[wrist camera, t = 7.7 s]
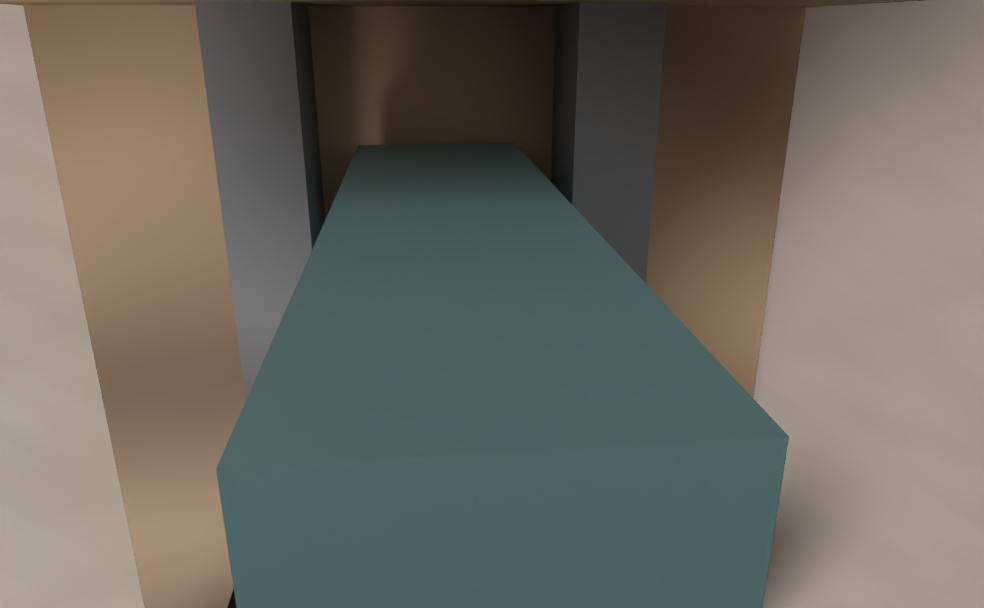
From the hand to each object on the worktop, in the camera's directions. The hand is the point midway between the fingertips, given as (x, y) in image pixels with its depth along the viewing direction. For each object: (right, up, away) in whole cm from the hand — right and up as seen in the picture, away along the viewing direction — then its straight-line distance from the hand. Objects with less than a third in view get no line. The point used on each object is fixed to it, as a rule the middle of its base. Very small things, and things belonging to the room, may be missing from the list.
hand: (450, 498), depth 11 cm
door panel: (0, +1, +2) cm, 2 cm away
